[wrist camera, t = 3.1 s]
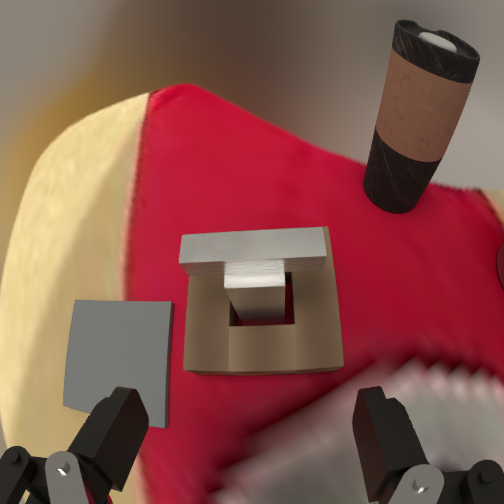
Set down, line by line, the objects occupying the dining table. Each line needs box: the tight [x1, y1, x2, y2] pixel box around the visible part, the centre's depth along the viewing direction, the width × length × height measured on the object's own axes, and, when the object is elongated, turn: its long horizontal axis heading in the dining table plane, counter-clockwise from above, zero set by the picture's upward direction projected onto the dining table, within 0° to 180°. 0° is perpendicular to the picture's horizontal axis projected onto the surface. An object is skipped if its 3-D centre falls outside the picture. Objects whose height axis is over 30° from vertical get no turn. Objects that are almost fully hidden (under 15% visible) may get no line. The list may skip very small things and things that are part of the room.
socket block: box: [183, 227, 344, 375], centre depth 25 cm, size 12×12×4 cm
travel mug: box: [364, 19, 480, 213], centre depth 23 cm, size 8×8×20 cm
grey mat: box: [63, 300, 174, 428], centre depth 25 cm, size 12×12×1 cm
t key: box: [179, 227, 327, 326], centre depth 21 cm, size 8×4×12 cm, turn 90°
